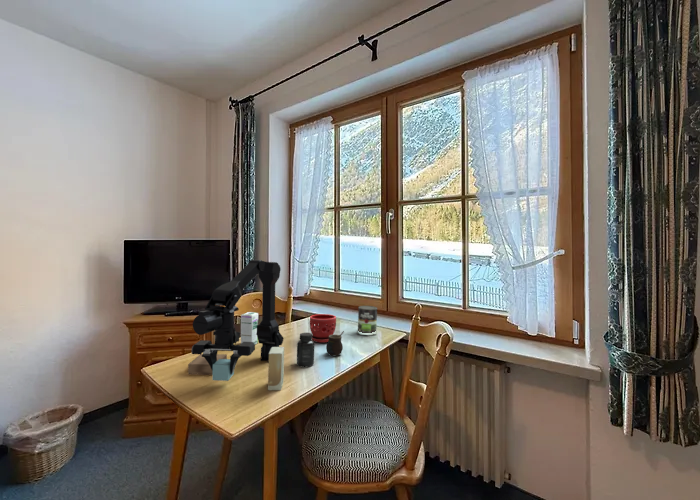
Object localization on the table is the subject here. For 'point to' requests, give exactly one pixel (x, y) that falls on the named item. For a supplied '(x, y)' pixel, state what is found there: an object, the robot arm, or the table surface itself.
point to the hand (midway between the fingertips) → (223, 373)
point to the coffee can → (367, 319)
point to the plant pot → (322, 327)
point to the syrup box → (249, 327)
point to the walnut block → (202, 365)
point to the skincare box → (276, 368)
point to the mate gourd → (334, 345)
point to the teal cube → (221, 370)
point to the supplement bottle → (305, 350)
